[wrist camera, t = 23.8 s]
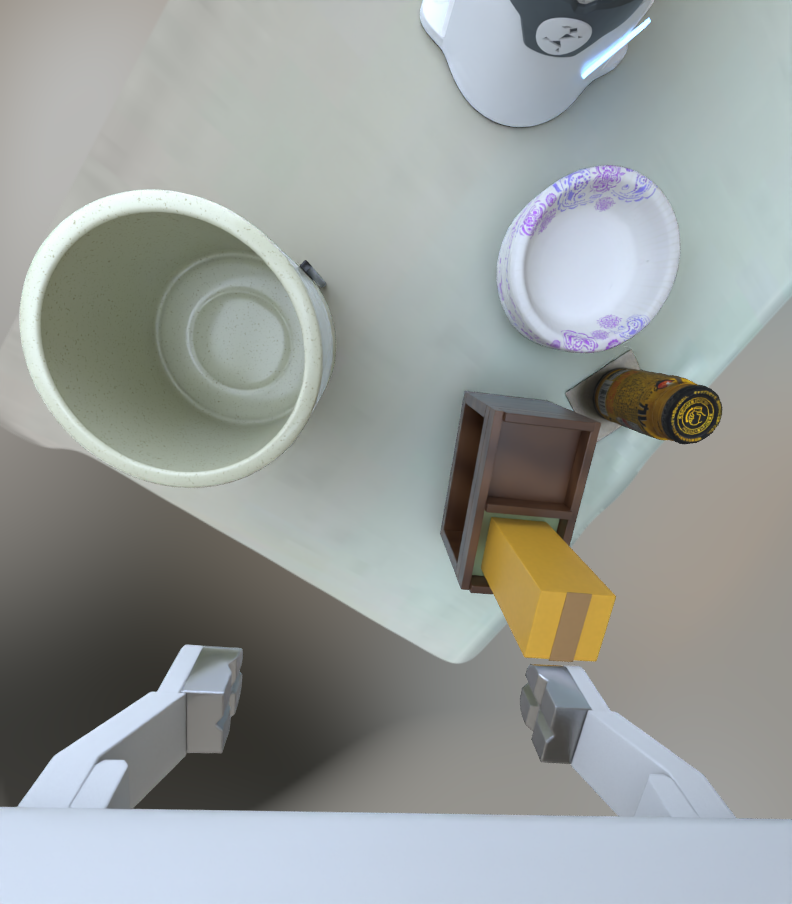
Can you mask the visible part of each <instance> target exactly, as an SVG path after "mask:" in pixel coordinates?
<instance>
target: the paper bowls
mask: <svg viewBox="0 0 792 904" xmlns="http://www.w3.org/2000/svg"><path fill="white" fill-rule="evenodd" d="M679 259H680V233H679V227H678V223H677V219H676V216H675V213H674V211H673V208H672V206H671V204H670V202H669V201H668V199H667V197H666V196H665V195H664V193H663V192H662V190H661V189H660V188H659V187H657V185H656V184H655V183H653V182H652V181H651V180H650V179H648V178H647V177H645V176H644V175H642V174H640V173H639V172H636V171H634V170H631V169H629V168H625V167H621V166H614V165H600V166H593V167H588V168H584V169H581V170H578V171H575V172H573V173H571V174H569V175H566V176H564V177H563V178H561V179H559V180H558V181H556V182H555V183H553V184H552V185H551V186H549V187H548V188H547V189H545V190H544V191H542V192H541V193H540V194H539V195H537V196H536V197H535V198H534V199H533V200H532V201H530V202H529V203H528V204H527V205H526V206H525V207H524V208H523V209H522V210H521V212H520V213H519V214H518V215H517V216H516V218H515V219H514V220H513V221H512V223H511V225H510V227H509V228H508V230H507V232H506V235H505V237H504V240H503V242H502V245H501V248H500V252H499V257H498V262H497V274H496V275H497V288H498V293H499V298H500V301H501V304H502V307H503V310H504V312H505V313H506V315H507V317H508V319H509V321H510V323H511V324H512V325H513V326H514V327H515V328H516V329H517V330H518V331H519V332H520V333H521V334H522V335H523V336H525V337H526V338H528V339H530V340H531V341H533V342H535V343H537V344H539V345H542V346H545V347H548V348H552V349H557V350H562V351H567V352H575V353H594V352H600V351H604V350H607V349H610V348H613V347H615V346H617V345H619V344H622V343H623V342H625V341H627V340H629V339H630V338H632V337H633V336H635V335H636V334H637V333H639V332H640V331H641V330H642V329H643V328H645V327H646V325H647V324H648V323H649V322H650V321H651V320H652V319H653V318H654V317H655V316H656V314H657V313H658V312H659V310H660V309H661V307H662V306H663V304H664V303H665V301H666V299H667V297H668V295H669V293H670V291H671V289H672V286H673V284H674V281H675V278H676V275H677V271H678V265H679Z"/></svg>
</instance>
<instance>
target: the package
mask: <svg viewBox="0 0 792 904" xmlns="http://www.w3.org/2000/svg"><path fill="white" fill-rule="evenodd" d="M481 570H482V572H483V574H484V576H485V578H486V580H487V582H488V584H489V586H490V588H491V590H492V592H493V594H494V596H495V598H496V600H497V602H498V604H499V606H500V608H501V610H502V612H503V615H504V617H505V619H506V621H507V623H508V625H509V627H510V629H511V631H512V633H513V635H514V637H515V639H516V641H517V643H518V645H519V647H520V649H521V651H522V653H523V655H524V657H526V658H542V659H549V661H565V662H573V660H580V661H596V660H597V657H598V654H599V651H600V648H601V645H602V641H603V638H604V635H605V631H606V628H607V625H608V622H609V618H610V615H611V612H612V608H613V605H614V602H615V599H616V596H615V595H614V594H613V593H612V592H611V591H610V589H609V588H608V587H607V586H606V585H605V584H604V583H603V582H602V581H601V580H600V579H599V578H598V577H597V576H596V574H595V573H594V572H593V571H592V570H591V569H590V568H589V567H588V566H587V565H586V564H585V563H584V562H583V561H582V560H581V558H580V557H579V556H578V555H577V554H576V553H575V552H574V551H573V550H572V549H571V548H570V547H569V546H568V545H567V543H566V542H565V541H564V540H563V539H562V538H561V537H560V536H559V535H558V534H557V533H556V532H555V531H554V530H553V528H552V527H551V526H550V525H549V524H548V523H547V522H542V521H531V520H520V519H509V518H498V517H491V520H490V525H489V530H488V535H487V540H486V545H485V550H484V554H483V559H482V564H481Z"/></svg>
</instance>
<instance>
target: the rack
mask: <svg viewBox="0 0 792 904" xmlns="http://www.w3.org/2000/svg"><path fill="white" fill-rule="evenodd" d="M600 427H601V423H600V422H598V421H596V420H593V419H591V418H588V417H586V416H583V415H581V414H579V413H576V412H574V411H571V410H569V409H566V408H564V407H561V406H559V405H557V404H554V403H552V402H549V401H545V400H537V399H529V398H520V397H512V396H504V395H495V394H487V393H479V392H470V391H465V392H464V398H463V404H462V410H461V416H460V421H459V427H458V433H457V439H456V445H455V451H454V457H453V462H452V468H451V474H450V480H449V486H448V492H447V497H446V503H445V509H444V515H443V521H442V527H441V533H440V534H441V537H442V540H443V542H444V545H445V548H446V550H447V553H448V556H449V558H450V561H451V563H452V566H453V569H454V571H455V574H456V577H457V580H458V583H459V585H460V588H461V589H464V590H470V592H471V593H481V594H493V592H492V590H491V588H490V586H489V584H488V582H487V580H486V578H485V576H484V574H483V572H482V570H481V564H482V559H483V554H484V550H485V545H486V540H487V535H488V530H489V525H490V520H491V517H498V518H509V519H520V520H531V521H542V522H547V523H548V524H549V525H550V526H551V527H552V528H553V530H554V531H555V532H556V533H557V534H558V535H559V536H560V537H561V538H562V539H563V540H564V541H565V542H566V543H567V545H568V546H569V545H570V542H571V538H572V534H573V530H574V526H575V522H576V519H577V515H578V511H579V507H580V503H581V499H582V496H583V492H584V488H585V484H586V480H587V476H588V473H589V469H590V465H591V461H592V457H593V453H594V450H595V446H596V442H597V438H598V434H599V430H600Z"/></svg>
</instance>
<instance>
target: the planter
mask: <svg viewBox="0 0 792 904" xmlns="http://www.w3.org/2000/svg"><path fill="white" fill-rule="evenodd" d="M300 267H301V268H300ZM300 267H299V266H298V265H297V264H296V263H295V262H294V261H293V260H292V259H291V258H290V257H288V256H287V255H286V254H285V253H284V252H283V251H282V250H281V249H280V248H279V247H278V246H277V245H276V244H275V243H273V242H272V241H271V240H270V239H269V238H268V237H267V236H266V235H265V234H263V233H262V232H261V231H260V230H259V229H258V228H256V227H255V226H254V225H252V224H251V223H250V222H248V221H247V220H245V219H244V218H242V217H241V216H239V215H238V214H236V213H234V212H232V211H231V210H229V209H227V208H225V207H223V206H221V205H218V204H216V203H214V202H212V201H209V200H206V199H203V198H201V197H197V196H194V195H190V194H186V193H181V192H176V191H167V190H135V191H128V192H122V193H118V194H113V195H110V196H107V197H104V198H101V199H99V200H96V201H94V202H92V203H89V204H88V205H86V206H84V207H82V208H80V209H79V210H77V211H76V212H74V213H73V214H71V215H70V216H68V217H67V218H66V219H65V220H64V221H63V222H61V223H60V224H59V225H58V226H57V227H56V228H55V229H54V230H53V231H52V232H51V233H50V235H49V236H48V237H47V238H46V240H45V241H44V242H43V244H42V245H41V247H40V248H39V250H38V251H37V253H36V255H35V257H34V259H33V261H32V263H31V265H30V268H29V270H28V273H27V276H26V279H25V282H24V286H23V291H22V296H21V303H20V335H21V342H22V348H23V353H24V357H25V360H26V364H27V367H28V370H29V373H30V375H31V378H32V380H33V383H34V385H35V387H36V389H37V391H38V393H39V395H40V396H41V398H42V400H43V402H44V403H45V405H46V406H47V408H48V409H49V411H50V412H51V414H52V415H53V416H54V418H55V419H56V420H57V422H58V423H59V424H60V425H61V426H62V427H63V429H64V430H65V431H66V432H67V433H68V434H69V435H70V436H71V437H72V438H73V439H74V440H75V441H76V442H77V443H79V444H80V445H81V446H82V447H83V448H84V449H86V450H87V451H88V452H90V453H91V454H92V455H94V456H95V457H97V458H98V459H100V460H101V461H103V462H104V463H106V464H108V465H109V466H111V467H113V468H115V469H117V470H119V471H121V472H123V473H125V474H128V475H130V476H133V477H135V478H138V479H141V480H144V481H148V482H151V483H155V484H160V485H165V486H172V487H184V488H200V487H210V486H217V485H222V484H226V483H230V482H233V481H236V480H239V479H242V478H244V477H247V476H249V475H251V474H253V473H255V472H257V471H259V470H261V469H262V468H264V467H266V466H267V465H269V464H270V463H271V462H273V461H274V460H276V459H277V458H278V457H279V456H280V455H281V454H283V453H284V452H285V451H286V450H287V449H288V448H289V447H290V445H291V444H292V443H293V442H294V441H295V439H296V438H297V437H298V435H299V434H300V433H301V431H302V430H303V428H304V426H305V425H306V423H307V421H308V420H309V418H310V416H311V414H312V412H313V410H314V409H315V407H316V405H317V403H318V401H319V400H320V398H321V396H322V394H323V392H324V391H325V389H326V387H327V385H328V383H329V380H330V378H331V375H332V372H333V368H334V363H335V357H336V334H335V328H334V323H333V319H332V316H331V313H330V310H329V307H328V305H327V303H326V301H325V299H324V297H323V295H322V293H321V292H320V290H319V289H318V287H317V286H316V284H315V283H314V282H313V280H314V281H315V282H316V283H317V284H318V285H319V286H320V287H321V288H323V287H324V286H325V285H326V283H325V281H324V280H323V279H322V278H321V277H320V276H319V274H318V273H317V272H316V271H315V270H314V269H313V267H312V266H311V265H310V264H309V263H308V262H307V261H306V260H305V261H304V262H303V263H302V264H301V265H300Z"/></svg>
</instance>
